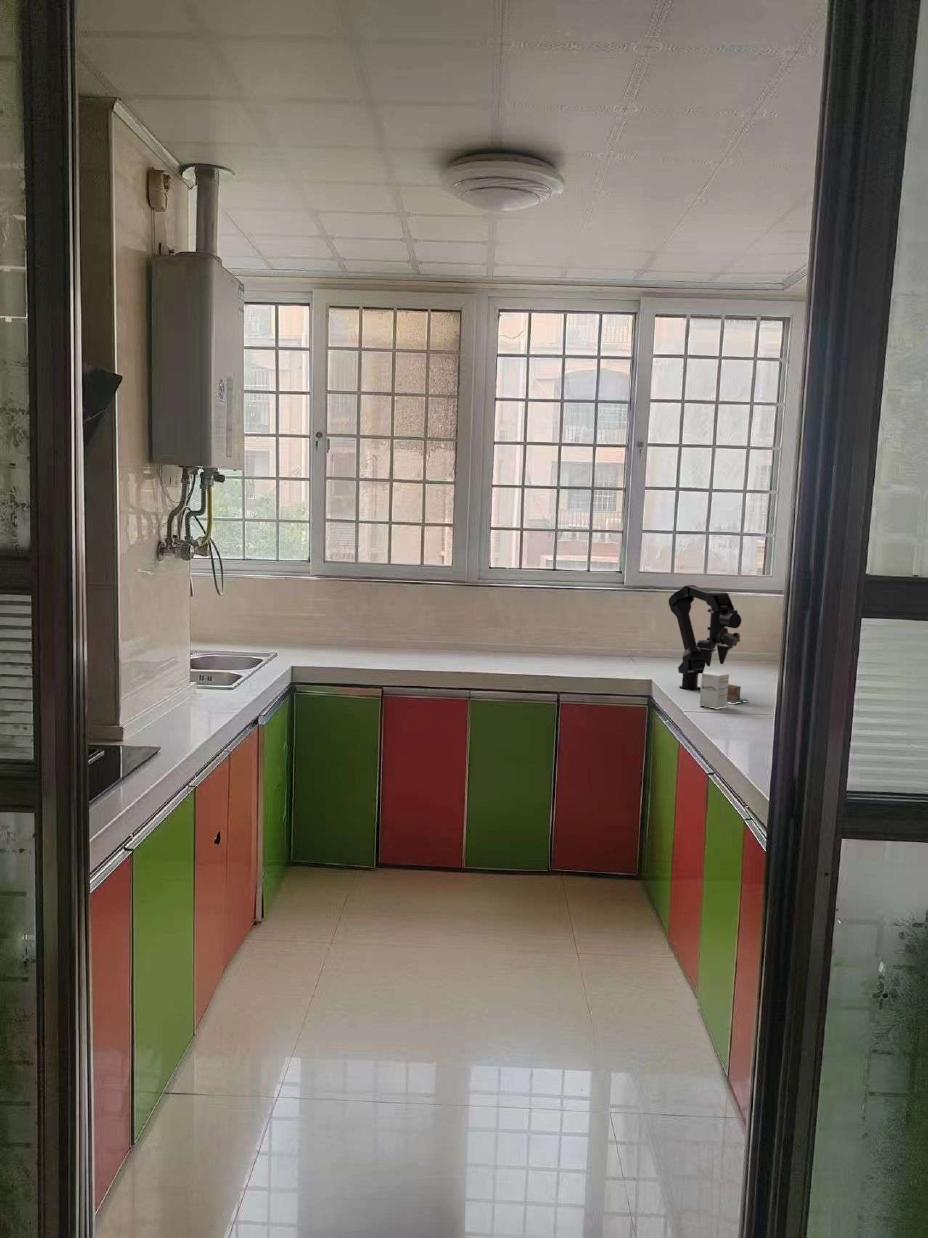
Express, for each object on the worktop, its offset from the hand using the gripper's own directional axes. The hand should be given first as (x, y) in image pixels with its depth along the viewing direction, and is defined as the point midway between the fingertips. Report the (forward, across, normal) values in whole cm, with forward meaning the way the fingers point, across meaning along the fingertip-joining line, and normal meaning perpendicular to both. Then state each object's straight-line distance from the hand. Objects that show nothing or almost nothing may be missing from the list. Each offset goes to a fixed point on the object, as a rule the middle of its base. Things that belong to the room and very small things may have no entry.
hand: (715, 665), depth 375 cm
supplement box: (+12, -19, -12) cm, 26 cm away
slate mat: (+12, -4, -10) cm, 16 cm away
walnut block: (+11, -4, -10) cm, 15 cm away
